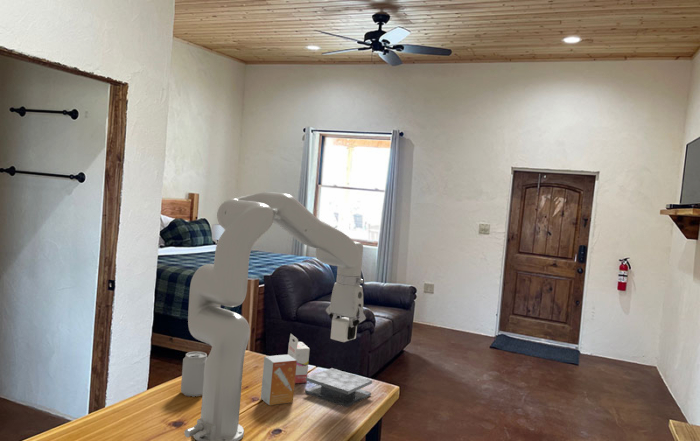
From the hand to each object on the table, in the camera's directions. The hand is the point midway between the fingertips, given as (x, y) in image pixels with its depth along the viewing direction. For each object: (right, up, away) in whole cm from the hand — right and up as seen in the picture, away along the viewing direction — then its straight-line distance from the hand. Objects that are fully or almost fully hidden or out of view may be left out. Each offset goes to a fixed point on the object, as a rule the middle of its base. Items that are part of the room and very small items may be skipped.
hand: (343, 336), depth 173 cm
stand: (-2, -19, +1) cm, 19 cm away
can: (-45, -15, -9) cm, 48 cm away
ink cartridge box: (-16, -17, +12) cm, 26 cm away
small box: (-20, -18, -9) cm, 28 cm away
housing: (0, -1, 0) cm, 1 cm away
